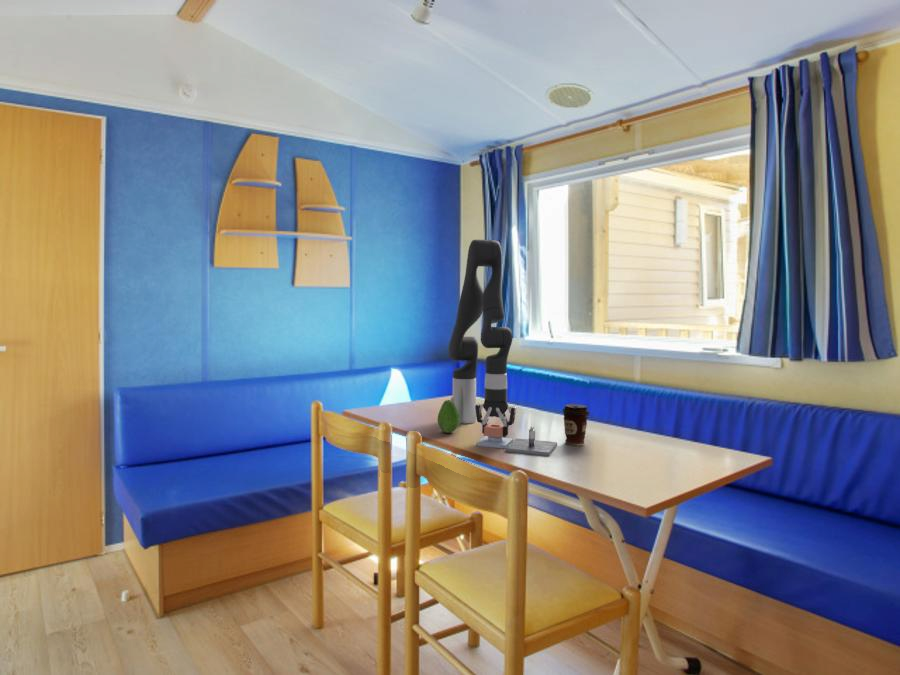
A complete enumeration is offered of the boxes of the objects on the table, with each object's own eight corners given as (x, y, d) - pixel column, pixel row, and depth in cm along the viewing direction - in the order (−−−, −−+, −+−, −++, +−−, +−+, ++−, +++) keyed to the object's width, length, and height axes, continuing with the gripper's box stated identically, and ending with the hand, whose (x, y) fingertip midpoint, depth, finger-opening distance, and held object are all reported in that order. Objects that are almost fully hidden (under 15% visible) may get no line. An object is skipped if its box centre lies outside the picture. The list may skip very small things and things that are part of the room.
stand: (476, 445, 203) (476, 429, 203) (485, 438, 213) (485, 423, 212) (505, 448, 200) (505, 431, 200) (513, 441, 209) (513, 425, 209)
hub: (505, 451, 196) (505, 429, 195) (516, 441, 209) (516, 420, 208) (548, 456, 191) (549, 433, 191) (557, 445, 204) (557, 424, 204)
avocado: (442, 435, 217) (442, 402, 216) (434, 431, 224) (434, 398, 223) (463, 434, 220) (463, 400, 219) (454, 429, 227) (455, 397, 226)
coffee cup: (572, 447, 201) (573, 408, 200) (556, 442, 209) (557, 404, 208) (592, 445, 205) (593, 406, 204) (576, 439, 213) (577, 402, 212)
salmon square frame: (484, 435, 204) (484, 427, 204) (489, 432, 210) (489, 423, 210) (501, 437, 202) (501, 428, 202) (506, 433, 208) (506, 424, 208)
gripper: (471, 386, 204) (471, 436, 205) (514, 389, 199) (513, 440, 200) (478, 383, 211) (478, 431, 212) (519, 386, 206) (518, 435, 207)
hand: (495, 435), depth 206 cm, fingers closed on salmon square frame, 6 cm apart
